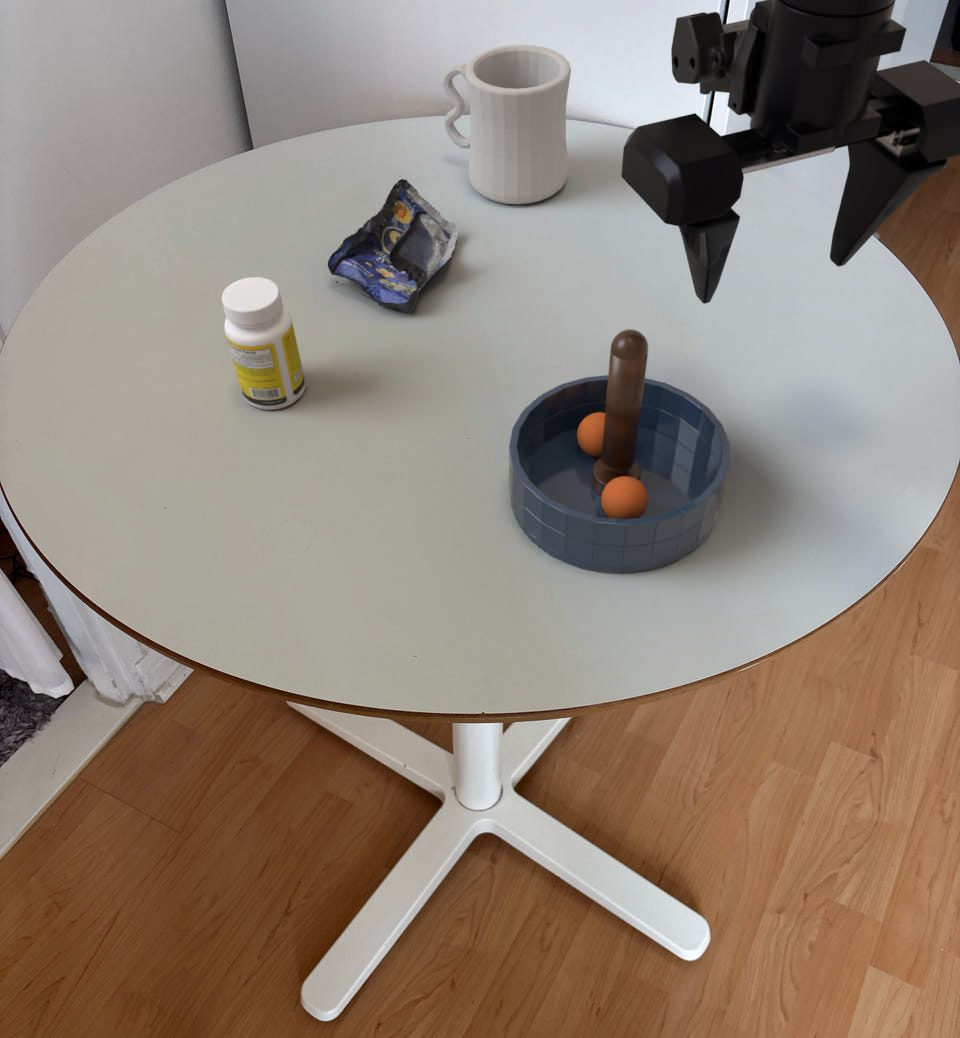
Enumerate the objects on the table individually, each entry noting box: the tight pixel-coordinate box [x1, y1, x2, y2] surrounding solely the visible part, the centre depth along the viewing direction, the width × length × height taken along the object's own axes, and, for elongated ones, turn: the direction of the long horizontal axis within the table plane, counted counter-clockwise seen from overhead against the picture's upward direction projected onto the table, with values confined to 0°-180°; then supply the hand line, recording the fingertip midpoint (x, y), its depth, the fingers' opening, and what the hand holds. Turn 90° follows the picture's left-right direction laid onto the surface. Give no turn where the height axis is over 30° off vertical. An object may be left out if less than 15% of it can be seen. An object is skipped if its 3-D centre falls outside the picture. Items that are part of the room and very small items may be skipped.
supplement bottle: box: [221, 276, 306, 411], centre depth 73 cm, size 5×5×8 cm
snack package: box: [327, 178, 459, 314], centre depth 84 cm, size 12×6×12 cm
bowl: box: [508, 374, 731, 574], centre depth 67 cm, size 14×14×4 cm
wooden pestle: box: [592, 328, 649, 496], centre depth 64 cm, size 3×3×12 cm
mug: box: [441, 44, 572, 205], centre depth 90 cm, size 12×9×10 cm
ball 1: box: [577, 412, 605, 457], centre depth 69 cm, size 3×3×3 cm
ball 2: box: [601, 476, 648, 519], centre depth 66 cm, size 3×3×3 cm
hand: (770, 280), depth 61 cm, fingers open, 9 cm apart
